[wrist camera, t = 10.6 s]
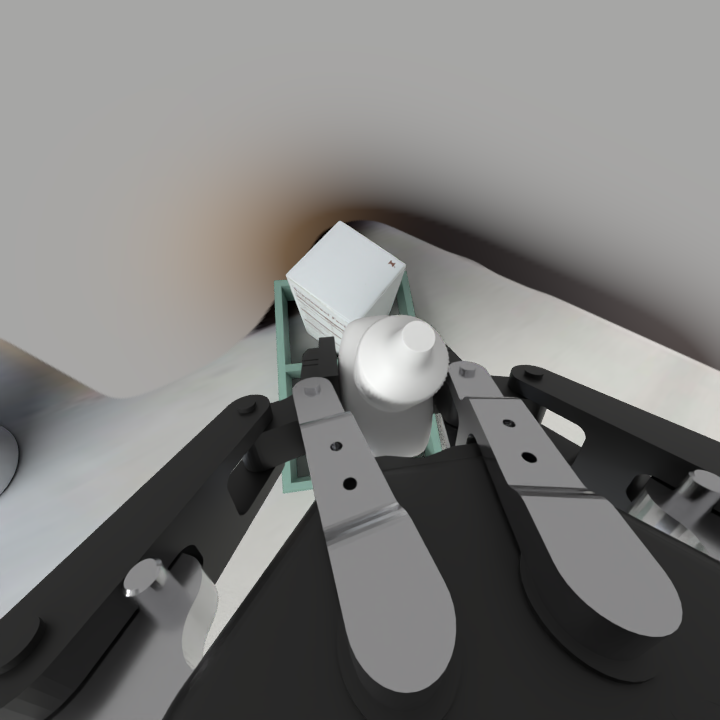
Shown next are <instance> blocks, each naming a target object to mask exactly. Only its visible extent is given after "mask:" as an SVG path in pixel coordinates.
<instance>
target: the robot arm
mask: <svg viewBox="0 0 720 720" xmlns="http://www.w3.org/2000/svg"><path fill="white" fill-rule="evenodd" d="M446 347H447V351H448V353H449V354H448V356H449V359H448V360H449V362H450V363H448V364H449V368H448V371H449V372H448V373H447V377H445V379H446V381H444V382H443V385H442V386H441V389H439V390H438V392H437V393H435V394H434V395H433V414H437V413H441V415H442V416H441V429H442V433H443V437H444V440H445V444H446V448H447V449H445V450H442V451H440V452H437V453H435V454H432V455H430V456H427V457H424V458H414V457H400V456H378V457H374V456H373V454H372V452H371V450H370V448H369V446H368V444H367V442H366V440H365V438H364V436H363V434H362V432H361V430H360V428H359V426H358V424H357V422H356V420H355V418H354V416H353V415H352V413H351V412H350V411H346V412H345V411H344V409H343V407H342V404H341V394H340V384H339V375H338V366H337V357H336V348H335V339H334V336H330V337H320V338H319V348H312V349H308V350H307V351H306V352H305V353H304V354H303V360H302V367H301V375H300V381H299V382H298V383H297V384H295V386H294V387H293V389H292V393H293V394H292V395H291V396H289V397H287V398H285V399H283V400H280V401H277V402H274V403H270V401H269V399H268V398H267V397H265V396H263V395H248V396H245V397H242V398H239V399H237V400H235V401H234V402H232V403H231V404H230V405H228V406H227V407H226V408H225V409H224V410H223V411H222V412H221V413H220V414H219V415H218V416H217V417H216V418H215V419H214V420H212V421H211V422H210V423H209V424H208V425H207V426H206V427H205V428H204V429H203V430H202V431H201V432H200V433H199V434H198V435H197V436H195V437H194V438H193V439H192V440H191V441H190V442H189V443H188V444H187V445H186V446H185V447H184V448H183V449H182V450H181V451H179V452H178V453H177V454H176V455H175V456H174V457H173V458H172V459H171V460H170V461H169V462H168V463H167V464H166V465H165V466H163V467H162V468H161V469H160V470H159V471H158V472H157V473H156V474H155V475H154V476H153V477H152V478H151V479H150V480H149V481H148V482H146V483H145V484H144V485H143V486H142V487H141V488H140V489H139V490H138V491H137V492H136V493H135V494H134V495H133V496H132V497H130V498H129V499H128V500H127V501H126V502H125V503H124V504H123V505H122V506H121V507H120V508H119V509H118V510H117V511H116V512H114V513H113V514H112V515H111V516H110V517H109V518H108V519H107V520H106V521H105V522H104V523H103V524H102V525H101V526H100V527H98V528H97V529H96V530H95V531H94V532H93V533H92V534H91V535H90V536H89V537H88V538H87V539H86V540H85V541H84V542H83V543H81V544H80V545H79V546H78V547H77V548H76V549H75V550H74V551H73V552H72V553H71V554H70V555H69V556H68V557H67V558H65V559H64V560H63V561H62V562H61V563H60V564H59V565H58V566H57V567H56V568H55V569H54V570H53V571H52V572H51V573H49V574H48V575H47V576H46V577H45V578H44V579H43V580H42V581H41V582H40V583H39V584H38V585H37V586H36V587H35V588H34V589H32V590H31V591H30V592H29V593H28V594H27V595H26V596H25V597H24V598H23V599H22V600H21V601H20V602H19V603H18V604H16V605H15V606H14V607H13V608H12V609H11V610H10V611H9V612H8V613H7V614H6V615H5V616H4V617H3V618H2V619H0V720H720V442H718V441H716V440H713V439H711V438H708V437H706V436H704V435H701V434H699V433H696V432H694V431H692V430H689V429H687V428H684V427H682V426H680V425H677V424H675V423H673V422H670V421H668V420H665V419H663V418H661V417H658V416H656V415H653V414H651V413H649V412H646V411H644V410H641V409H639V408H637V407H634V406H632V405H629V404H627V403H625V402H622V401H620V400H617V399H615V398H613V397H610V396H608V395H605V394H603V393H601V392H598V391H596V390H593V389H591V388H589V387H586V386H584V385H581V384H579V383H577V382H574V381H572V380H569V379H567V378H565V377H562V376H560V375H558V374H555V373H553V372H550V371H548V370H546V369H543V368H540V367H536V366H531V365H518V366H515V367H513V368H512V370H511V373H510V377H503V376H490V375H489V373H488V371H487V370H486V369H485V368H484V367H483V366H481V365H479V364H476V363H473V362H468V361H462V360H461V359H460V358H459V357H458V356H457V355H456V354H455V353H454V352H453V351H452V350H451V349H450V348H449V347H448V346H447V345H446ZM546 409H549V410H550V411H552V412H554V413H556V414H558V415H560V416H562V417H564V418H566V419H568V420H569V421H571V422H573V423H575V424H577V425H578V426H580V427H581V428H582V429H583V431H584V433H585V436H586V439H585V441H584V443H583V445H582V447H580V446H578V445H576V444H575V443H573V442H571V441H569V440H568V439H566V438H564V437H563V436H561V435H559V434H557V433H556V432H554V431H552V430H551V429H549V428H547V427H545V426H544V425H542V424H541V422H542V419H543V417H544V414H545V411H546ZM18 455H19V452H18V445H17V442H16V440H15V438H14V436H13V435H12V434H11V433H10V432H9V431H8V430H7V429H5V428H4V427H2V426H0V494H1V493H2V492H3V491H4V489H5V488H6V487H7V485H8V484H9V482H10V481H11V479H12V477H13V475H14V473H15V470H16V467H17V464H18ZM302 455H306V459H307V464H308V468H309V473H310V477H311V482H312V486H313V491H314V496H315V501H314V502H313V504H312V505H311V507H310V508H309V509H308V511H307V512H306V514H305V515H304V517H303V518H302V519H301V521H300V522H299V524H298V525H297V526H296V528H295V529H294V531H293V532H292V533H291V535H290V536H289V538H288V539H287V540H286V542H285V543H284V545H283V546H282V547H281V549H280V550H279V552H278V553H277V554H276V556H275V557H274V559H273V560H272V561H271V563H270V564H269V566H268V567H267V568H266V570H265V571H264V573H263V574H262V575H261V577H260V578H259V580H258V581H257V582H256V584H255V585H254V587H253V588H252V589H251V591H250V592H249V594H248V595H247V596H246V598H245V599H244V601H243V602H242V603H241V605H240V606H239V608H238V609H237V610H236V612H235V613H234V615H233V616H232V617H231V619H230V620H229V622H228V623H227V624H226V626H225V627H224V629H223V630H222V631H221V633H220V634H219V636H218V637H217V638H216V640H215V641H214V643H213V644H212V645H211V647H210V648H209V650H208V651H207V652H206V654H205V655H204V657H203V650H204V645H205V641H206V638H207V634H208V632H209V630H210V627H211V625H212V623H213V620H214V618H215V615H216V612H217V607H218V592H217V589H216V586H215V584H216V582H217V580H218V579H219V577H220V575H221V574H222V572H223V570H224V568H225V567H226V565H227V563H228V562H229V560H230V558H231V557H232V555H233V553H234V552H235V550H236V548H237V546H238V545H239V543H240V541H241V540H242V538H243V536H244V535H245V533H246V531H247V530H248V528H249V526H250V524H251V523H252V521H253V519H254V518H255V516H256V514H257V513H258V511H259V509H260V508H261V506H262V504H263V502H264V501H265V499H266V497H267V496H268V494H269V492H270V491H271V489H272V487H273V486H274V484H275V482H276V481H277V479H278V477H279V475H280V474H281V472H282V470H283V469H284V466H285V462H288V461H290V460H293V459H295V458H298V457H300V456H302ZM241 459H242V460H241ZM240 460H241V461H240ZM238 463H239V464H238ZM237 464H238V465H237ZM236 465H237V466H236ZM235 467H236V468H235ZM234 468H235V469H234ZM233 469H234V470H233ZM231 472H232V473H231ZM650 475H651V476H650Z"/></svg>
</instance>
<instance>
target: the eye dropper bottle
mask: <svg viewBox="0 0 720 720" xmlns="http://www.w3.org/2000/svg"><path fill="white" fill-rule="evenodd" d="M448 354H449V353H448V351H447V347H446V344H445V343H444V340H443V339H442V338H441V335H439V333H438V332H437V331H436V330H435V328H433V327H432V325H429V324H428V323H427V322H425V321H424V320H421V319H420V318H416V317H412V316H411V315H410V316H408V315H402V314H401V315H397V314H396V315H391V316H389V315H377V316H370V317H363V318H359V319H356V320H354V321H352V322H350V323H349V324H348V325H347V327H346V328H345V331H344V333H343V336H342V340H341V344H340V349H339V356H338V375H339V384H340V394H341V404H342V407H343V409H344V411H345V412H346V411H350V412H351V413H352V415H353V416H354V418H355V420H356V422H357V424H358V426H359V428H360V430H361V432H362V434H363V436H364V438H365V440H366V442H367V444H368V446H369V448H370V450H371V452H372V454H373V456H374V457H378V456H400V457H413V456H417V455H419V454H420V453H422V452H423V451H424V450H425V448H426V446H427V445H428V441H429V438H430V433H431V427H432V418H433V395H434V394H435V393H437V392H438V390H439V389H441V386H442V385H443V382H444V381H446V379H445V377H447V373H448V372H449V371H448V368H449V364H448V363H450V362H449V360H448V359H449V356H448Z"/></svg>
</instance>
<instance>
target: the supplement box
mask: <svg viewBox="0 0 720 720" xmlns="http://www.w3.org/2000/svg"><path fill="white" fill-rule="evenodd" d="M405 268H406V264H405V263H403V262H402V261H400V260H399V259H397V258H396V257H395V256H393V255H392V254H390V253H389V252H387V251H386V250H384V249H383V248H381V247H380V246H378V245H377V244H375V243H374V242H372V241H370V240H369V239H367V238H366V237H365V236H363V235H361V234H360V233H358V232H357V231H355V230H354V229H352V228H351V227H350V226H348V225H346V224H345V223H343V222H341V221H339V222H337V223H336V224H335V226H334V227H333V228H332V229H331V230H330V231H329V232H328V233H327V234H326V235H325V236H324V237H323V238H322V239H321V240H320V241H319V242H318V243H317V244H316V245H315V246H314V247H313V248H312V249H311V250H310V251H309V252H308V253H307V254H306V255H305V256H304V257H303V258H302V259H301V260H300V261H299V262H298V263H297V264H296V265H295V266H294V267H293V268H292V269H291V270H290V271H289V272H288V273H287V274H286V277H287V280H288V283H289V285H290V288H291V291H292V293H293V296H294V299H295V301H296V304H297V306H298V309H299V312H300V315H301V317H302V320H303V323H304V326H305V328H306V331H307V333H308V334H310V335H311V336H312V337H314V338H315V339H316V340H318V341H319V338H320V337H330V336H334V339H335V348H336V355H338V356H339V349H340V344H341V340H342V336H343V333H344V331H345V328H346V327H347V325H348V324H349V323H350V322H352V321H354V320H356V319H359V318H363V317H370V316H377V315H389V314H390V311H391V308H392V305H393V302H394V300H395V297H396V294H397V291H398V288H399V285H400V283H401V280H402V277H403V274H404V271H405Z"/></svg>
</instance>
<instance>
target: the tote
mask: <svg viewBox="0 0 720 720" xmlns="http://www.w3.org/2000/svg"><path fill="white" fill-rule="evenodd" d="M274 292H275V316H276V340H277V364H278V388H279V401H280V400H283V399H285V398H287V397H289V396H291V395H292V394H293V393H292V379H293V378H300V375H301V367H302V363H296V364H291V356H290V338H289V320H288V303H287V301H292V300H295V299H294V296H293V293H292V291H291V288H290V285H289V283H288V280H277V281H274ZM396 297H397V302H398V308H399V313H400V315H401V314H402V315H408V316H410V315H411V316H412V317H415V312H414V307H413V302H412V297H411V292H410V287H409V282H408V277H407V272H406V271H404V274H403V277H402V280H401V283H400V285H399V288H398V291H397V294H396ZM337 366H338V359H337ZM424 451H425V456H426V457H427V456H430V455H432V454H435V453H437V452H440V451H442V448H441V443H440V438H439V433H438V428H437V423H436V418H435V414H433V418H432V427H431V433H430V438H429V441H428V445H427V446H426V448H425V450H424ZM282 484H283V493H290V492H297V491H304V490H311V489H313V486H312V482H311V477H310V476H305V477H298V478H297V463H296V458H295V459H293V460H290V461H288V462H285V466H284V469H283V470H282Z"/></svg>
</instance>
